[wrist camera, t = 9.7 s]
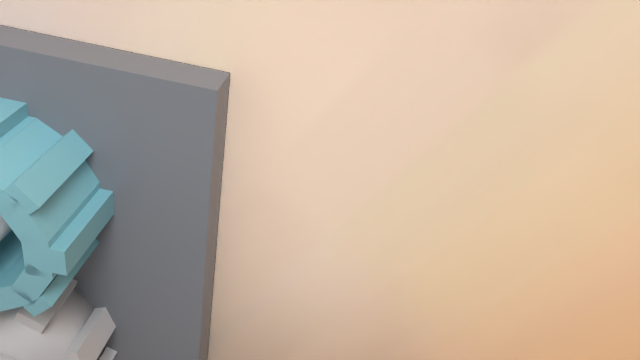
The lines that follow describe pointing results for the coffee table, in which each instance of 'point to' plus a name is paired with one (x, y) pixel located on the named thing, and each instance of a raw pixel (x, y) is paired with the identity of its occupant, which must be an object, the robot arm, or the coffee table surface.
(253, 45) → the coffee table surface
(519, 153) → the coffee table surface
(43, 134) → the teal gear
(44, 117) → the gear board
